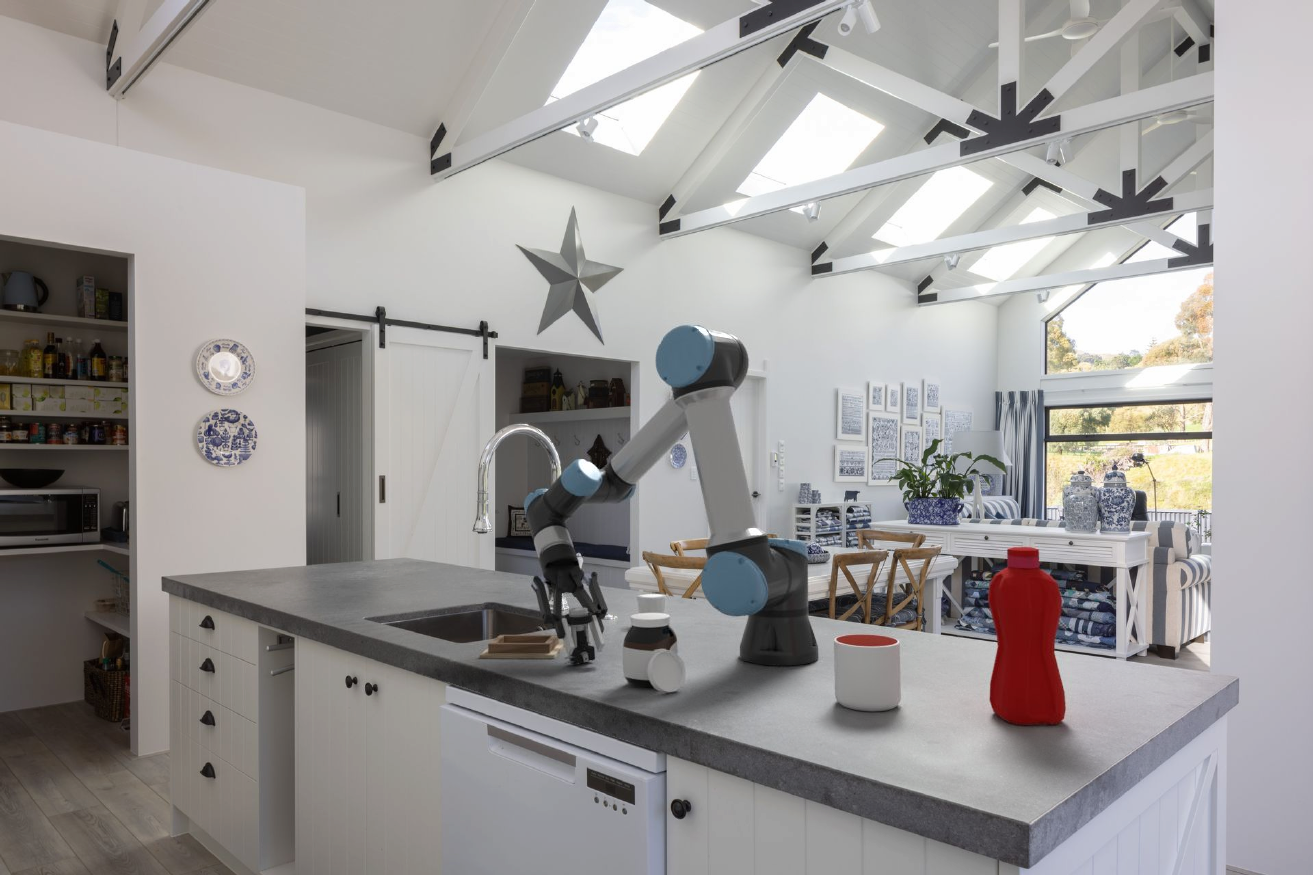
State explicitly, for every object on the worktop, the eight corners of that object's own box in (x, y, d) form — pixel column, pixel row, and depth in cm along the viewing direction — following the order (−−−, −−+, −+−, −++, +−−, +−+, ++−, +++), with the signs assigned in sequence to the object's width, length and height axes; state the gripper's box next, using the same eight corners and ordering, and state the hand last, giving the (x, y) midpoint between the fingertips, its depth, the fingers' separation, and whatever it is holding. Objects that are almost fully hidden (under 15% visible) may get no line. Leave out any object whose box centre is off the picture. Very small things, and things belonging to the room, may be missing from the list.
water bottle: (1038, 705, 135) (1034, 542, 136) (1074, 727, 124) (1069, 549, 125) (979, 706, 135) (975, 543, 135) (1009, 728, 124) (1004, 550, 124)
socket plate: (554, 658, 172) (554, 646, 172) (479, 658, 173) (479, 645, 173) (566, 644, 185) (566, 633, 185) (496, 644, 186) (496, 633, 186)
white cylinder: (666, 627, 202) (666, 597, 203) (636, 628, 202) (636, 597, 203) (666, 622, 209) (666, 592, 209) (637, 622, 209) (637, 593, 209)
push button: (573, 668, 163) (569, 614, 163) (556, 664, 167) (552, 611, 167) (601, 660, 167) (597, 608, 167) (584, 656, 171) (580, 605, 171)
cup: (889, 717, 130) (888, 649, 130) (825, 708, 135) (824, 642, 135) (909, 701, 138) (907, 637, 139) (848, 693, 144) (846, 631, 144)
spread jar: (646, 674, 158) (645, 609, 158) (702, 681, 152) (701, 614, 153) (610, 690, 148) (609, 620, 148) (669, 698, 142) (668, 626, 142)
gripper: (593, 562, 185) (625, 655, 170) (509, 568, 178) (535, 666, 162) (602, 539, 181) (636, 632, 166) (516, 544, 173) (543, 642, 158)
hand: (586, 649), depth 164 cm, fingers closed on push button, 5 cm apart
